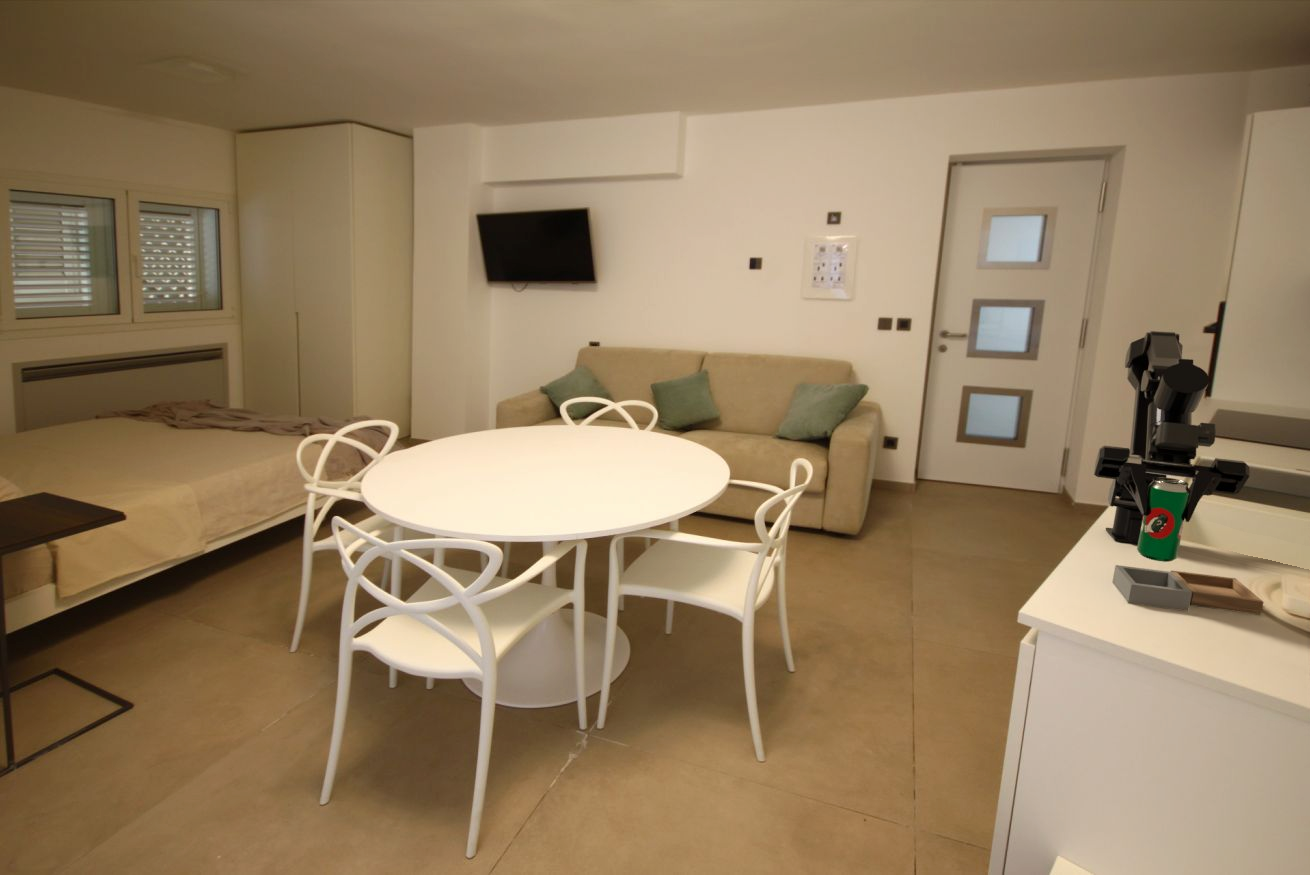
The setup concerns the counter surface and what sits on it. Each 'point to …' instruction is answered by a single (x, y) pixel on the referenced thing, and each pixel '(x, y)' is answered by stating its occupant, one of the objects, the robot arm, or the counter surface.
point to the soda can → (1163, 519)
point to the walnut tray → (1220, 593)
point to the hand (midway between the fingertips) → (1166, 517)
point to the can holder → (1151, 587)
